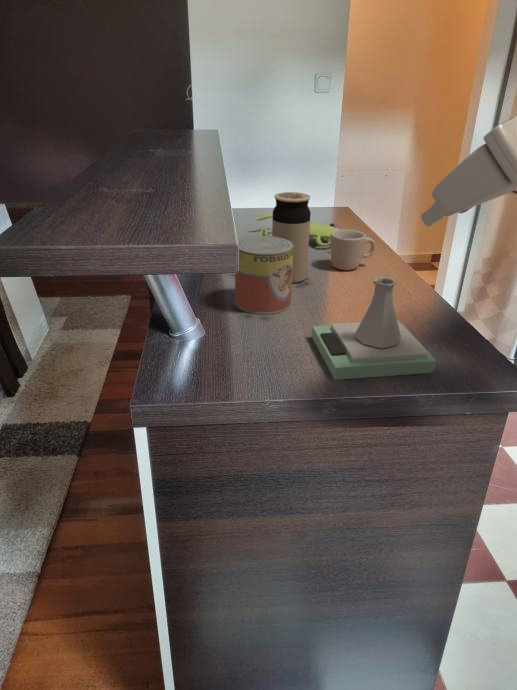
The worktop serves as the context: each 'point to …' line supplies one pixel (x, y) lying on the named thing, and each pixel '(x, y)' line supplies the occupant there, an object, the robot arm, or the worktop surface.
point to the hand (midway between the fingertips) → (442, 214)
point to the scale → (369, 353)
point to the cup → (349, 248)
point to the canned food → (264, 274)
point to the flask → (380, 317)
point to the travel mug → (294, 228)
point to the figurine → (315, 230)
